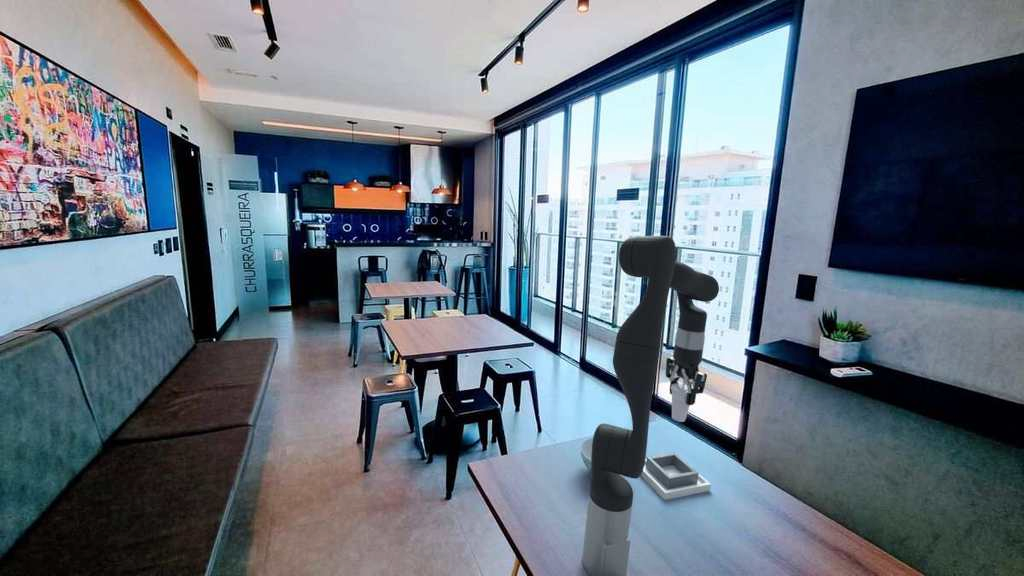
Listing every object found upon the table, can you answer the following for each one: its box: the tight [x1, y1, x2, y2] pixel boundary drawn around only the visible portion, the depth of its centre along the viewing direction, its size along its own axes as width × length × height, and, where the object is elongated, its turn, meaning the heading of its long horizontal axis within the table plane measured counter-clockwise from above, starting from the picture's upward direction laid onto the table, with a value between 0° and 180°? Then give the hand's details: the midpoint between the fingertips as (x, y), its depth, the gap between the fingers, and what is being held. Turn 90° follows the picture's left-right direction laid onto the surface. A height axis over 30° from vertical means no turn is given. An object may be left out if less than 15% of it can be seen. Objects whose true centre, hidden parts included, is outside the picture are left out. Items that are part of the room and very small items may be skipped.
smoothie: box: [671, 378, 693, 423], centre depth 118 cm, size 6×6×14 cm
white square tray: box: [640, 452, 712, 501], centre depth 123 cm, size 15×16×5 cm
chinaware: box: [579, 437, 593, 472], centre depth 123 cm, size 15×15×8 cm
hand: (681, 399), depth 118 cm, fingers closed on smoothie, 6 cm apart
